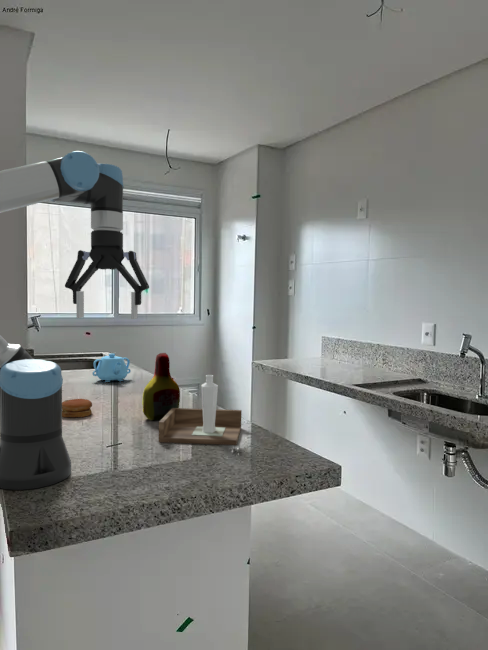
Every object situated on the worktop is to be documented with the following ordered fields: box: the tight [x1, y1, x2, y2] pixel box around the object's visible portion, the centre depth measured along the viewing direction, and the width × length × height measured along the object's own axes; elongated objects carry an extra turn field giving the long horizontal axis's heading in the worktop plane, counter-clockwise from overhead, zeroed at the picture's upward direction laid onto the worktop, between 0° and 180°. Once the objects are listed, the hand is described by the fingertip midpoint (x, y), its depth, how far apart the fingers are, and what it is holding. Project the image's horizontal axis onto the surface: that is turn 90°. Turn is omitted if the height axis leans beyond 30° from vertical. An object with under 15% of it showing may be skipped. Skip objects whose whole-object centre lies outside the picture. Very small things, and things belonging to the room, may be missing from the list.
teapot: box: [92, 353, 131, 383], centre depth 212 cm, size 20×17×12 cm
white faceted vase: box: [200, 374, 219, 433], centre depth 132 cm, size 5×4×15 cm
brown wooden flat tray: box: [158, 407, 242, 446], centre depth 133 cm, size 16×20×5 cm
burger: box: [62, 398, 93, 418], centre depth 153 cm, size 10×9×5 cm
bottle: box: [141, 352, 181, 421], centre depth 150 cm, size 12×6×20 cm, turn 119°
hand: (107, 318), depth 121 cm, fingers open, 13 cm apart
